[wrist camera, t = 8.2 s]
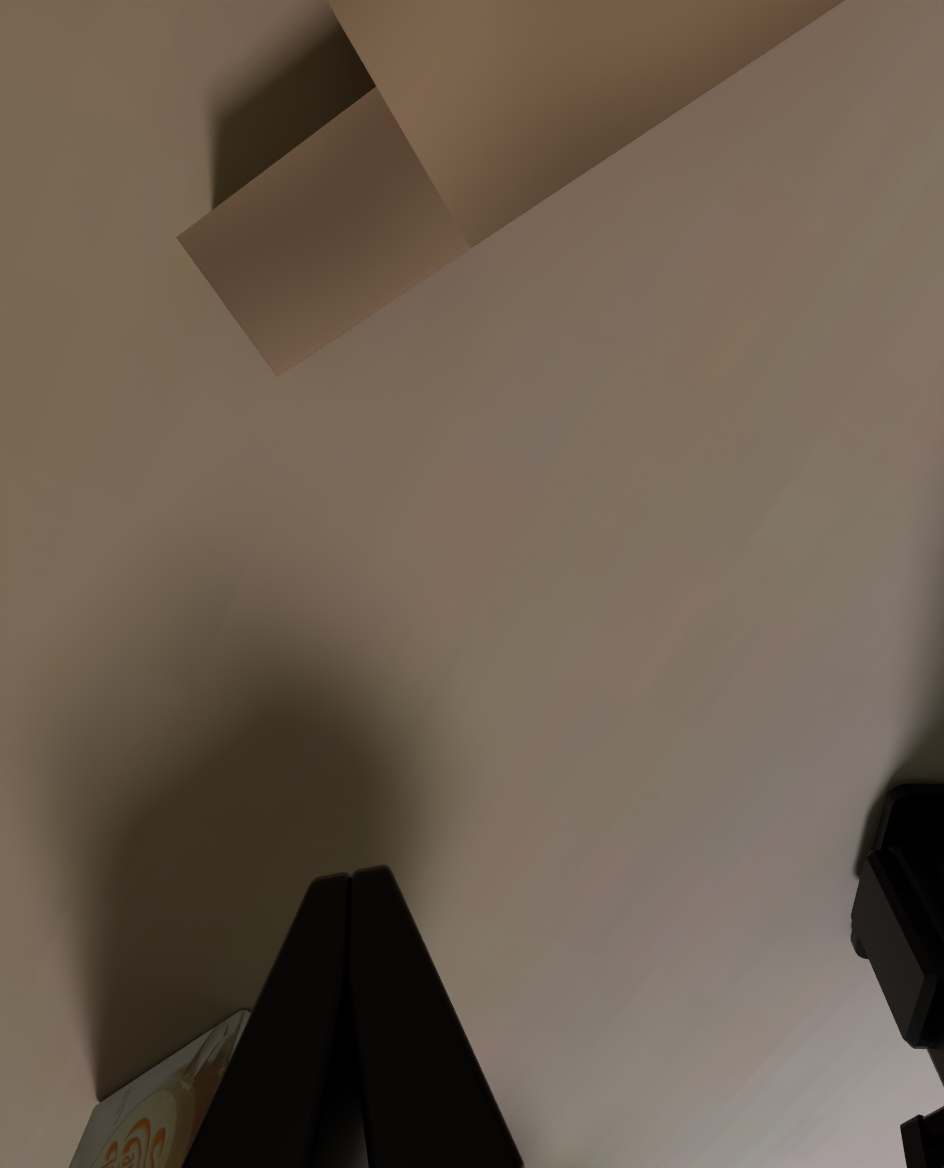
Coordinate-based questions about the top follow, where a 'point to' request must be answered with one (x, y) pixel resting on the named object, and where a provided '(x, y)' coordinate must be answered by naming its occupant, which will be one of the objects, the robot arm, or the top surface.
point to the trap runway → (458, 144)
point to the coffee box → (160, 1106)
